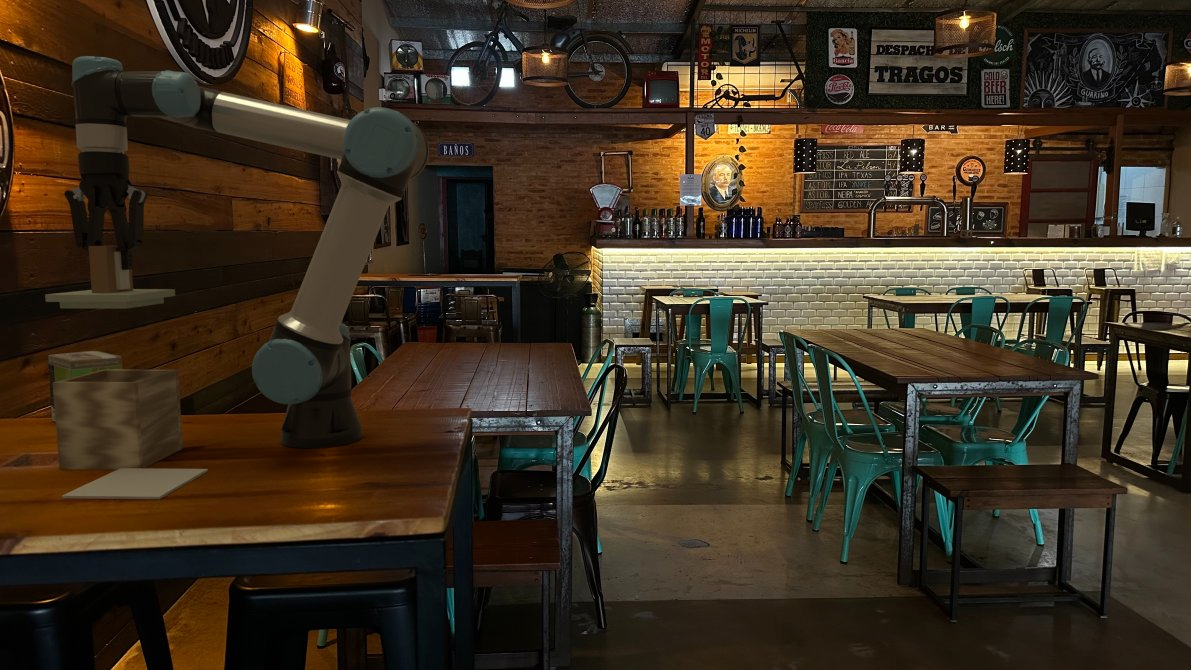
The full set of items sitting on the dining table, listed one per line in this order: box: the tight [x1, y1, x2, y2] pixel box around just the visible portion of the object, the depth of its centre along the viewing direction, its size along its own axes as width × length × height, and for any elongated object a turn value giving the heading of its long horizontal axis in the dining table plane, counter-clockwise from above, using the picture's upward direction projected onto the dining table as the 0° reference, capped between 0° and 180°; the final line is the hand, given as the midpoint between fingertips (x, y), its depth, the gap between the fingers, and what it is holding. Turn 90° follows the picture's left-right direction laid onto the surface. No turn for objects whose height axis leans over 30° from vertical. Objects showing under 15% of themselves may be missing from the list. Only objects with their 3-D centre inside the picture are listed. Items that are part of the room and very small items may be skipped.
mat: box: [61, 467, 209, 500], centre depth 133 cm, size 15×15×1 cm
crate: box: [53, 369, 184, 471], centre depth 147 cm, size 14×14×15 cm
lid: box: [44, 245, 176, 309], centre depth 144 cm, size 14×14×10 cm
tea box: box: [47, 350, 124, 423], centre depth 175 cm, size 15×10×15 cm, turn 49°
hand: (112, 288), depth 144 cm, fingers closed on lid, 3 cm apart
